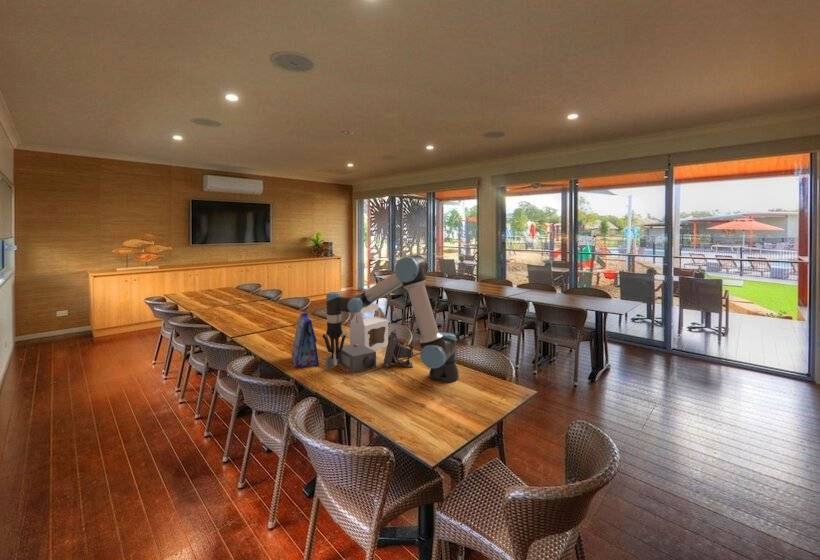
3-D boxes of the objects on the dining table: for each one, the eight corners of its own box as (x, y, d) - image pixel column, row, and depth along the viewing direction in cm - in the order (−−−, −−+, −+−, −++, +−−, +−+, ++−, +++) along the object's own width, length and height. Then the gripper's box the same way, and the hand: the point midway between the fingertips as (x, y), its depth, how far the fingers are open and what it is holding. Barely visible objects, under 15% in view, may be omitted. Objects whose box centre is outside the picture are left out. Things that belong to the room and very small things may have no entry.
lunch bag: (319, 366, 215) (318, 315, 211) (294, 369, 210) (292, 316, 206) (314, 354, 235) (313, 307, 231) (291, 357, 230) (289, 309, 226)
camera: (410, 375, 212) (420, 340, 210) (381, 367, 211) (390, 332, 209) (410, 368, 223) (419, 335, 221) (382, 360, 222) (391, 327, 220)
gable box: (373, 342, 262) (373, 301, 259) (388, 345, 254) (388, 303, 251) (349, 349, 245) (349, 306, 242) (364, 353, 237) (364, 308, 234)
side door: (327, 370, 205) (327, 358, 204) (324, 369, 205) (324, 357, 205) (341, 362, 216) (340, 351, 216) (338, 362, 217) (337, 351, 216)
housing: (378, 368, 211) (377, 351, 210) (354, 373, 203) (354, 355, 202) (359, 358, 229) (358, 341, 228) (336, 362, 221) (336, 345, 220)
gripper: (347, 320, 208) (348, 362, 211) (324, 319, 209) (325, 362, 212) (344, 323, 201) (345, 367, 203) (320, 323, 201) (321, 366, 204)
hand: (335, 364), depth 208 cm, fingers closed
